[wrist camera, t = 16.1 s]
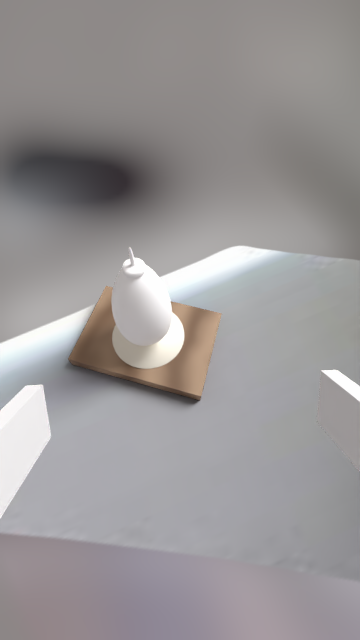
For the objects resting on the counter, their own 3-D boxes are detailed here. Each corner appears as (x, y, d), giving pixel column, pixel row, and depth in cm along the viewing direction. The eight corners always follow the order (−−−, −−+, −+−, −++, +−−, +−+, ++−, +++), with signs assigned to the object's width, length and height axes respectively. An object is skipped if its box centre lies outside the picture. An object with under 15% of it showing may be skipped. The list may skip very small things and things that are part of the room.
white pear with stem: (127, 364, 43) (96, 284, 27) (117, 320, 47) (86, 229, 31) (179, 349, 44) (177, 266, 29) (165, 308, 48) (157, 215, 33)
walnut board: (219, 320, 49) (221, 313, 47) (200, 400, 42) (201, 395, 40) (108, 293, 52) (105, 285, 50) (72, 364, 45) (67, 358, 43)
